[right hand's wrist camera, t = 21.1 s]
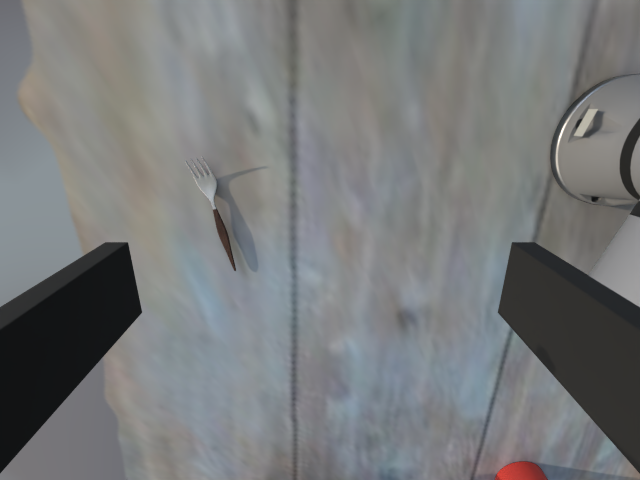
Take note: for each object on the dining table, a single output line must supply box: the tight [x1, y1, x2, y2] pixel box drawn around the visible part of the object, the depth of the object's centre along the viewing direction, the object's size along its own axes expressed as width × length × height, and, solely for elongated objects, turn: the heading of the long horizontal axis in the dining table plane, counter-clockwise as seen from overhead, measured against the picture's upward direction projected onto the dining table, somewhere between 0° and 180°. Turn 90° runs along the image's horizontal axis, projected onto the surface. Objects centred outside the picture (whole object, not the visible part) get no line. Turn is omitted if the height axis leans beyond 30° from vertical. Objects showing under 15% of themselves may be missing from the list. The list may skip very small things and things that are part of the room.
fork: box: [185, 157, 236, 271], centre depth 46 cm, size 3×16×2 cm, turn 12°
